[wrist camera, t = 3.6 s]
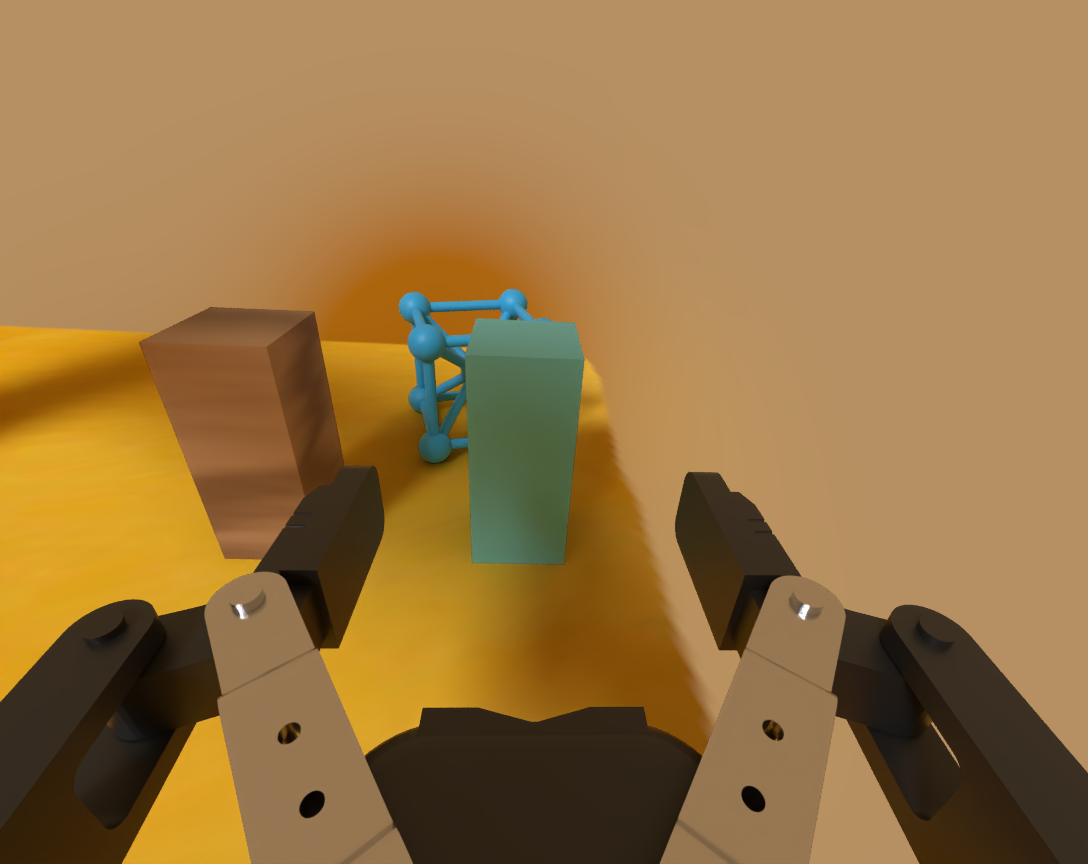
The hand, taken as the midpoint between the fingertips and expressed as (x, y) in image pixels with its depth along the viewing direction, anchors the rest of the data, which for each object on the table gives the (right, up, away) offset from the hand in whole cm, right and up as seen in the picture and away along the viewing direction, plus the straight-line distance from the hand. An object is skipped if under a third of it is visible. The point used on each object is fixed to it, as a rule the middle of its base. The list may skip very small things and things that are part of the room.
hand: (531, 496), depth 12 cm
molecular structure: (-5, +2, +26) cm, 27 cm away
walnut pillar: (-14, -4, +15) cm, 21 cm away
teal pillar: (-1, -4, +16) cm, 16 cm away
